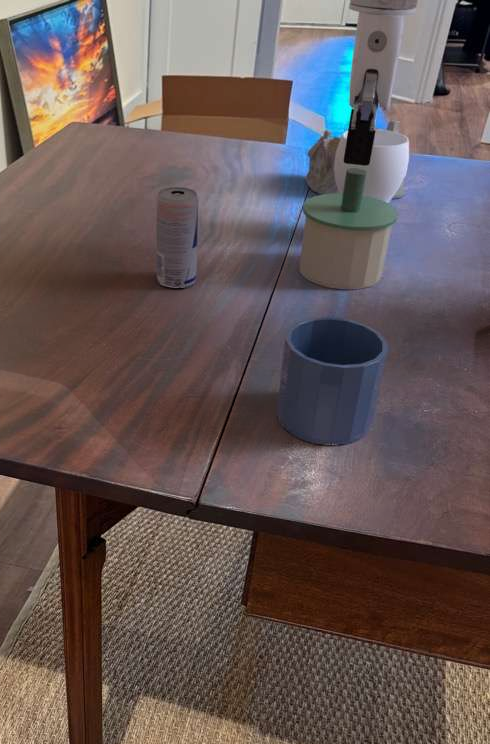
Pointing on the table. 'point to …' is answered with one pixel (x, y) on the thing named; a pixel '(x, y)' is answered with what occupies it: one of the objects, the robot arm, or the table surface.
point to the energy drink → (177, 236)
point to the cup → (378, 164)
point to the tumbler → (330, 379)
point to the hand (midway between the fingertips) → (357, 152)
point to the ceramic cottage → (323, 163)
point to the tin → (343, 255)
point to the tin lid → (351, 207)
